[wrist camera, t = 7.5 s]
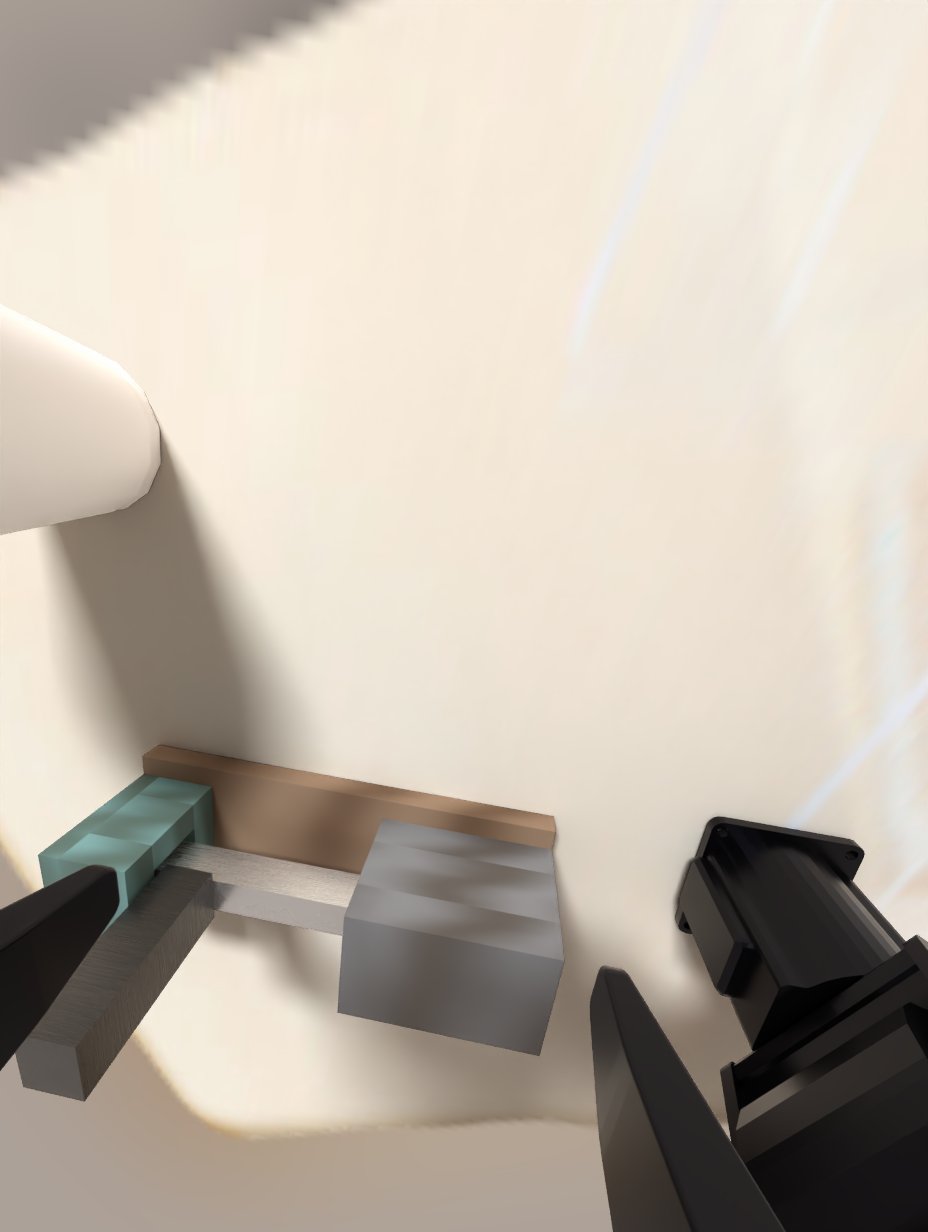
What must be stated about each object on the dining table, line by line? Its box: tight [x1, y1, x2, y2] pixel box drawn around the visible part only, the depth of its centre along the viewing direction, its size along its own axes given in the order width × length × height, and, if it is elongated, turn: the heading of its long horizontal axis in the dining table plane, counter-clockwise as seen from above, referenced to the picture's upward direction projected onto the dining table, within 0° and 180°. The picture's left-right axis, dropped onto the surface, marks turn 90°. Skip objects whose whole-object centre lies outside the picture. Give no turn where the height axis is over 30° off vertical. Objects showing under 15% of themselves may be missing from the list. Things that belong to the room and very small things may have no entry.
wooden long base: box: [38, 745, 565, 1056], centre depth 20 cm, size 20×7×6 cm, turn 82°
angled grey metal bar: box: [15, 841, 360, 1101], centre depth 16 cm, size 13×2×8 cm, turn 82°
